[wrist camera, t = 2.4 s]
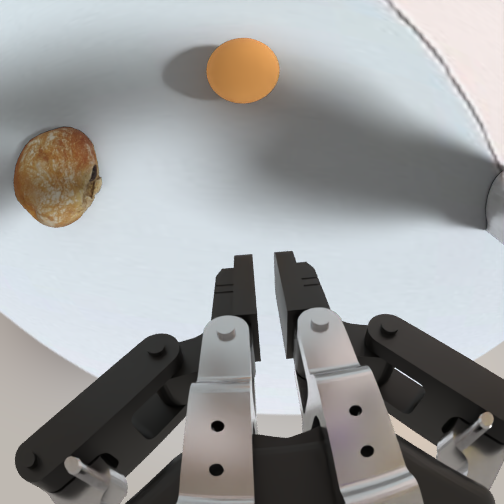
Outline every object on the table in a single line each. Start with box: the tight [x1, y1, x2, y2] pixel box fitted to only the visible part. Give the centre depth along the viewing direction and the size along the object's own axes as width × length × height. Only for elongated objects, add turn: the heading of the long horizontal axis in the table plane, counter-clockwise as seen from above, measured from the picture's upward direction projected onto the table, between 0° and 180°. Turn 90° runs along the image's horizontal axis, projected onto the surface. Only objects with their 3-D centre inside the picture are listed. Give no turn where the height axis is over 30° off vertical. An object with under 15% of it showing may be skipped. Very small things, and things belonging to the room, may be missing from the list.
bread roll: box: [14, 127, 102, 228], centre depth 21 cm, size 10×10×8 cm
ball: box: [206, 38, 279, 103], centre depth 17 cm, size 5×5×5 cm
